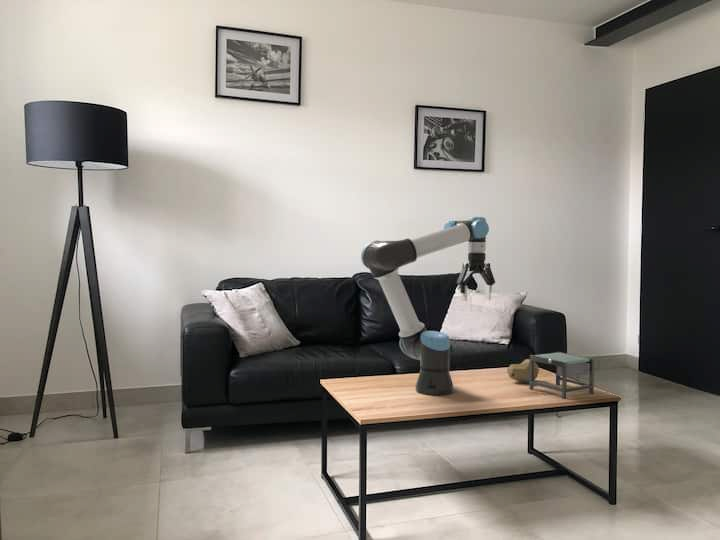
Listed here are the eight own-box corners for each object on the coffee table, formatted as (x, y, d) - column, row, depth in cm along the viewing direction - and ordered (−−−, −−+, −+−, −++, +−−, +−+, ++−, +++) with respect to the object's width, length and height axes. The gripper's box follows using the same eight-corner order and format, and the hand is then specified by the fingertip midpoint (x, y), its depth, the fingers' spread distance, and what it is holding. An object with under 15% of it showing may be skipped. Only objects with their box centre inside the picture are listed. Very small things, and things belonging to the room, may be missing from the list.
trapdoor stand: (563, 399, 228) (563, 362, 227) (528, 389, 243) (528, 354, 243) (594, 393, 237) (595, 358, 236) (558, 384, 253) (559, 351, 252)
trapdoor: (565, 377, 229) (565, 362, 229) (534, 369, 243) (534, 355, 243) (589, 373, 236) (589, 358, 236) (557, 366, 250) (557, 352, 250)
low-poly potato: (539, 380, 261) (518, 365, 267) (548, 362, 255) (525, 347, 261) (522, 395, 251) (500, 379, 257) (530, 376, 245) (507, 360, 251)
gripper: (460, 252, 251) (459, 302, 252) (503, 252, 264) (503, 299, 264) (449, 252, 258) (448, 300, 258) (492, 252, 270) (491, 298, 271)
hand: (476, 300), depth 261 cm, fingers open, 13 cm apart
